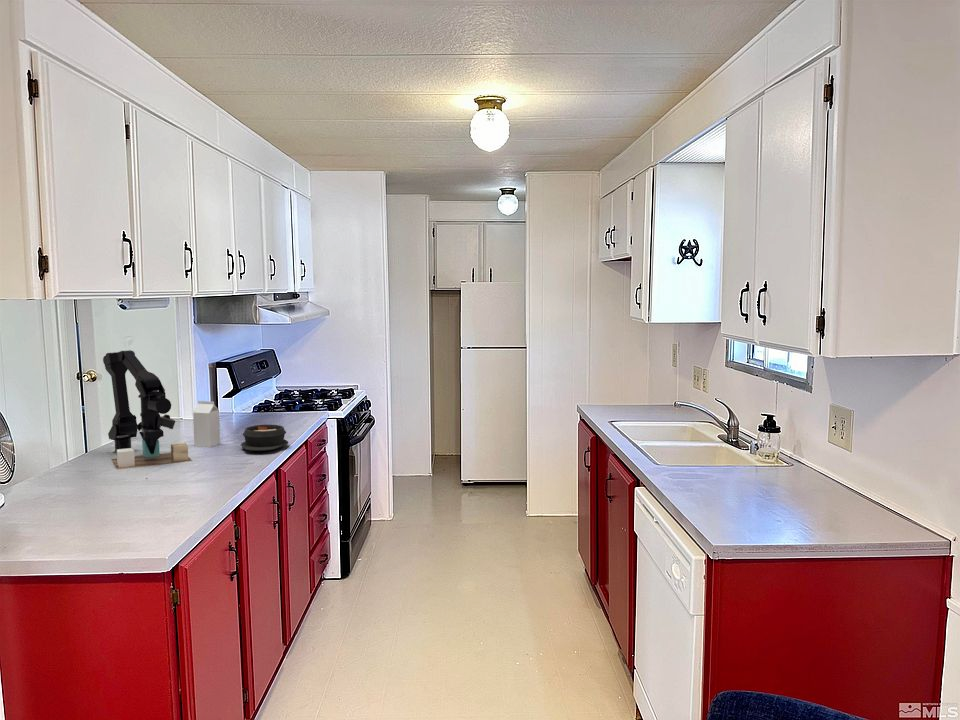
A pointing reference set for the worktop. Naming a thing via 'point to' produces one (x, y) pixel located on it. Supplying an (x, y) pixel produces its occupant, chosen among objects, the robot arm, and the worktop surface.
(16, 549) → the worktop surface
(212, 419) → the milk carton
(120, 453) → the off-white block
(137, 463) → the walnut board
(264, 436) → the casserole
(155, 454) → the teal block
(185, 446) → the birch block
